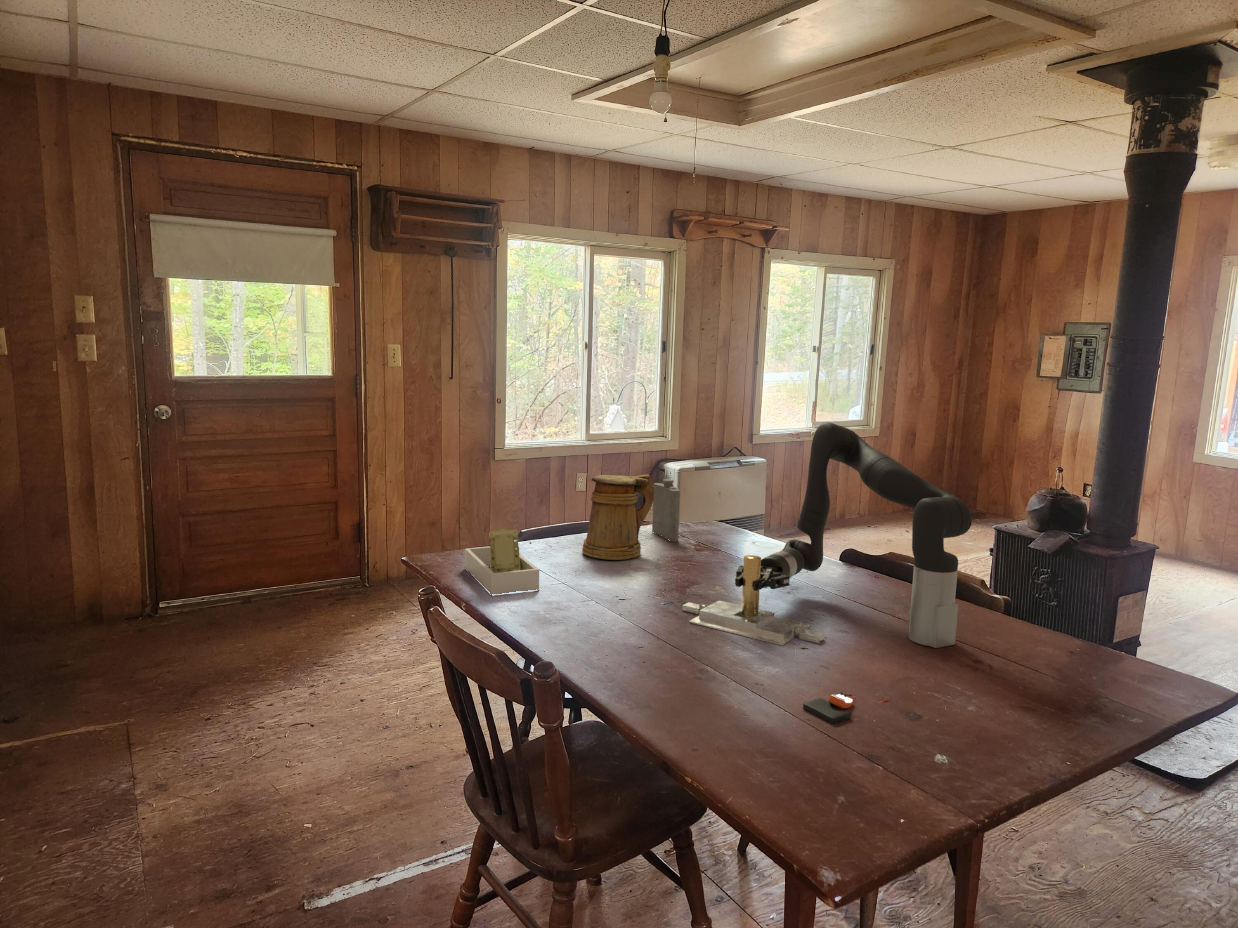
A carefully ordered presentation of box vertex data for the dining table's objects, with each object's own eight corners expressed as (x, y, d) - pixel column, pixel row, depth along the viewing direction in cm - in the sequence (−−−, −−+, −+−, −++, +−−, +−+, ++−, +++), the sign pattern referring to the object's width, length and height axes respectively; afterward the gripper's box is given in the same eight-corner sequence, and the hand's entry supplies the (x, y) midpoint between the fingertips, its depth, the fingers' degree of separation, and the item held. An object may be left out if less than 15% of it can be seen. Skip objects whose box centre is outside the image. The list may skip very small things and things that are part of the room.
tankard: (573, 549, 259) (574, 472, 255) (638, 543, 269) (640, 469, 265) (596, 563, 242) (597, 482, 239) (664, 556, 253) (667, 478, 249)
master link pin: (761, 615, 192) (764, 558, 189) (747, 617, 190) (750, 560, 188) (752, 610, 195) (754, 554, 193) (738, 612, 193) (740, 556, 191)
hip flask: (650, 531, 286) (652, 476, 283) (660, 531, 287) (662, 475, 284) (671, 542, 271) (673, 483, 268) (682, 541, 273) (684, 483, 270)
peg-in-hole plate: (833, 631, 189) (834, 621, 189) (807, 651, 176) (807, 641, 176) (701, 601, 209) (701, 592, 209) (668, 617, 196) (668, 607, 196)
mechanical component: (522, 596, 228) (517, 527, 233) (521, 591, 212) (516, 516, 216) (495, 599, 227) (490, 529, 232) (492, 594, 211) (487, 519, 215)
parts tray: (539, 591, 214) (539, 569, 213) (491, 596, 209) (491, 574, 208) (508, 564, 240) (508, 544, 239) (465, 568, 234) (464, 548, 233)
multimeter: (855, 683, 161) (856, 667, 161) (902, 707, 151) (904, 690, 150) (785, 701, 152) (786, 684, 152) (830, 728, 142) (831, 710, 142)
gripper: (751, 549, 206) (719, 563, 192) (804, 559, 198) (774, 574, 184) (750, 577, 207) (718, 594, 194) (802, 588, 199) (773, 606, 185)
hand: (746, 584), depth 189 cm, fingers closed on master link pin, 4 cm apart
